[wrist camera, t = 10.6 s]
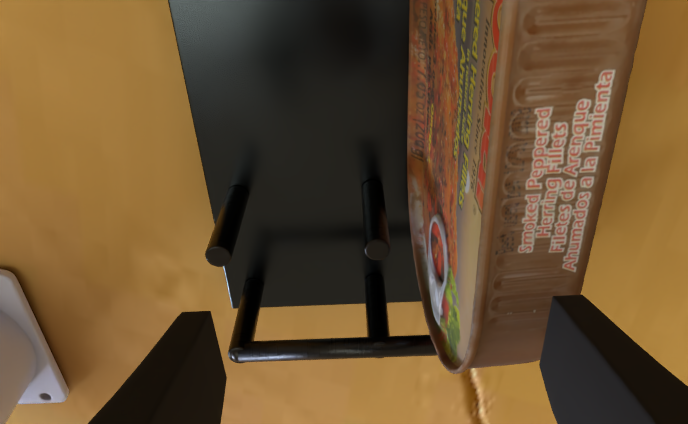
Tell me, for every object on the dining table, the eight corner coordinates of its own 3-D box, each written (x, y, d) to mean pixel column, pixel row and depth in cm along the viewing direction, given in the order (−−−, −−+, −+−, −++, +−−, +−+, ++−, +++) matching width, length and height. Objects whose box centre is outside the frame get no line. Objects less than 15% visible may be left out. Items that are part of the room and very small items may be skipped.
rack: (235, 293, 24) (212, 383, 20) (108, -343, 13) (-1, -440, 9) (513, 282, 24) (550, 372, 19) (611, -377, 13) (739, -494, 9)
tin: (412, -245, 13) (492, -373, 6) (542, -253, 13) (771, -390, 6) (404, 251, 21) (435, 443, 14) (485, 248, 21) (557, 439, 14)
